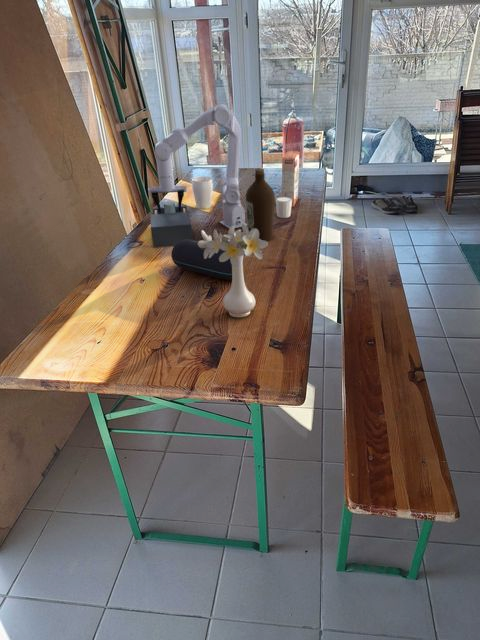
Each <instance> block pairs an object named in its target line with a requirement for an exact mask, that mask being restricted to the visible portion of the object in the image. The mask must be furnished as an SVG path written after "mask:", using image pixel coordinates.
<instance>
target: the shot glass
mask: <svg viewBox="0 0 480 640" xmlns="http://www.w3.org/2000/svg"><path fill="white" fill-rule="evenodd" d="M291 205H292V199H291V198H289V197H282V196H280V197H275V208H276V217H278V218H281V219H287V218H290V217H291V213H292V207H291Z"/></svg>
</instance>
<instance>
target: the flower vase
mask: <svg viewBox="0 0 480 640" xmlns="http://www.w3.org/2000/svg"><path fill="white" fill-rule="evenodd" d="M241 228H242V230H241V229H238V230H236V231H235V228H234V227H233V226H232V227H231V228H230V229H229V228H228V232H227V234H222V233H221V232H220V233H218V231H217V229H214V230H213V238H212V235H211V234H209V235H208V234H206V232H205V230H203V229H201V231H200V232H201V233H200V235H201V237H202V239H203V240H198V241H199V242H198V246H199V247H200V248H206V249H205V251H204V259H206V258H207V256H208V254H209V252H210V254H209V258H211V257H212V256H213V254H214V253H218V251H219V249H222V250H223V251H226V252H224V253H222V254H221V256H220V257H219V261H220V262H225V261H227V260H228V259H229V258H230V257H231V258H230V261H231V264H232V281H231V285H230V288H229V290H228V291H227V292H226V294H225V295H224V296H223V298H222V306H223V308H224V310H225V311H226V312H228V314H229V316H231V317H234V318H245V317H247V316H249V315H250V314H251V311H252V310H254V308H255V306H256V304H257V302H256V298H255V296H254V294H253V293H252V292H251V291H250V290H249V289H248V288H247V286H246V284H245V283H246V282H245V276H244V264H243V259H244V255H245V256H246V257H249V256H251V255H252V254H254V256H255V257H256V258H257V259H258V260H263V253H262V251H261V250H262V249H265V248H267V247H268V246H269V242H268V240H267V241H264V240H261V239H259V231H258V230H257V229H256V228H254V229H252V230H251V231H250V232H249V230H248V226H246V225H245V224H242V227H241ZM242 231H243V232H242ZM248 233H249V234H248ZM212 239H213V240H212ZM240 245H242V246H240ZM213 248H215V249H213Z"/></svg>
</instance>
